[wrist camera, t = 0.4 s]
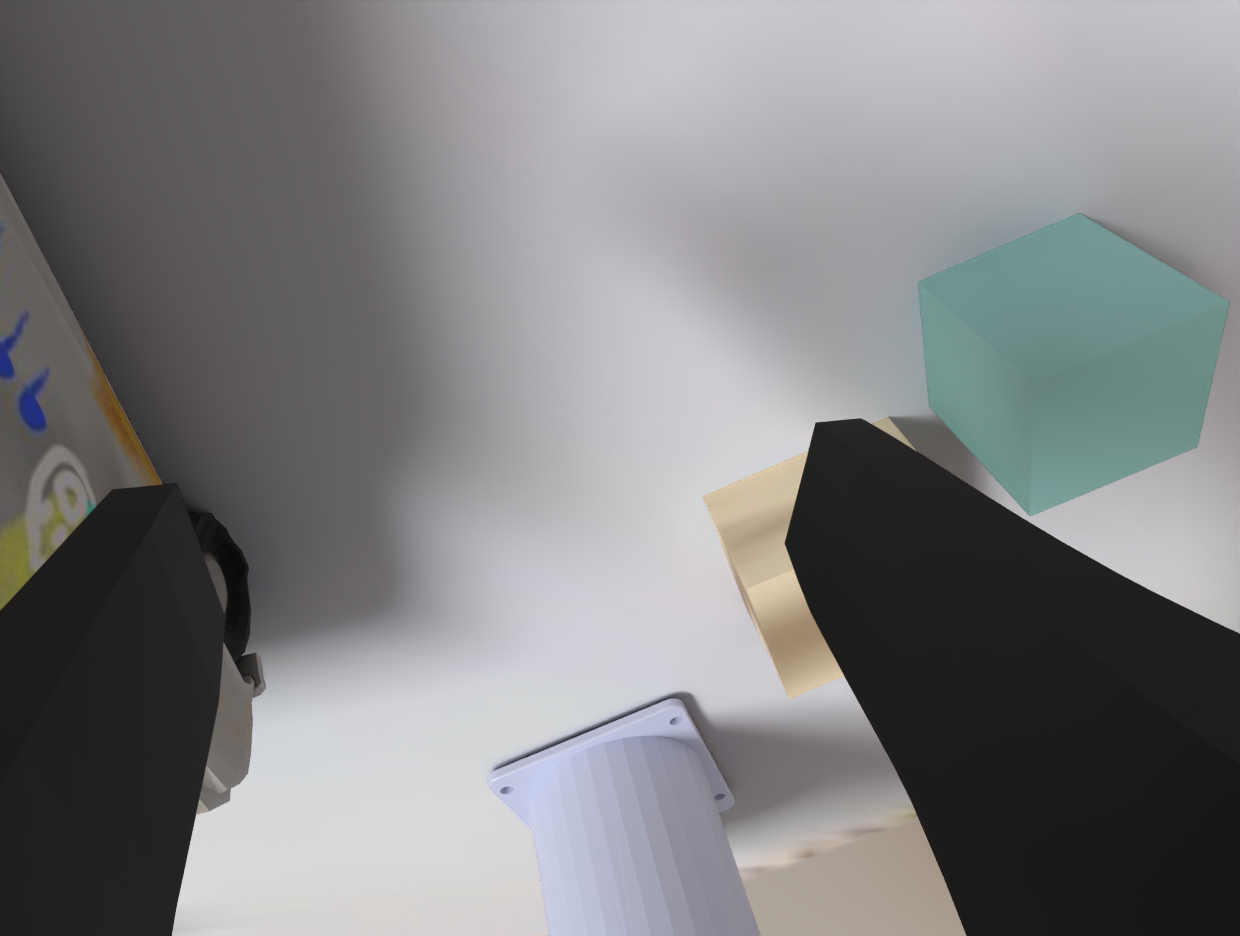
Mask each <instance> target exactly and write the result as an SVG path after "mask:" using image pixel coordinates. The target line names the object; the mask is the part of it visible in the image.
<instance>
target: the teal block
mask: <svg viewBox="0 0 1240 936" xmlns="http://www.w3.org/2000/svg"><path fill="white" fill-rule="evenodd" d="M918 287H919V298H920V310H921V321H922V333H923V344H924V355H925V367H926V378H927V390H928V401H929V407H930V408H931V409H932V410H933V411H934V413H935V414H936V415H937V416H938V417H939V418H940V419H941V420H942V421H943V422H944V423H945V425H946V426H947V427H948V428H949V429H950V430H951V431H952V432H953V433H954V434H955V435H956V437H957V438H958V439H959V440H960V441H961V442H962V443H963V444H964V445H965V446H966V447H967V449H968V450H969V451H970V452H971V453H972V454H973V455H974V456H975V457H976V458H977V459H978V461H979V462H980V463H981V464H982V465H983V466H984V467H985V468H986V469H987V470H988V471H989V473H990V474H991V475H992V476H993V477H994V478H995V479H996V480H997V481H998V482H999V483H1000V485H1001V486H1002V487H1003V488H1004V489H1005V490H1006V491H1007V492H1008V493H1009V494H1010V495H1011V497H1012V498H1013V499H1014V500H1015V501H1016V502H1017V503H1018V504H1019V505H1020V506H1021V507H1022V509H1023V510H1024V511H1025V512H1026V513H1027V514H1028V515H1029V516H1032V515H1035V514H1037V513H1040V512H1042V511H1044V510H1047V509H1049V508H1052V507H1054V506H1056V505H1059V504H1061V503H1064V502H1066V501H1069V500H1071V499H1073V498H1076V497H1078V496H1081V495H1083V494H1085V493H1088V492H1090V491H1093V490H1095V489H1097V488H1100V487H1102V486H1105V485H1107V484H1110V483H1112V482H1114V481H1117V480H1119V479H1122V478H1124V477H1126V476H1129V475H1131V474H1134V473H1136V472H1138V471H1141V470H1143V469H1146V468H1148V467H1151V466H1153V465H1155V464H1158V463H1160V462H1163V461H1165V460H1167V459H1170V458H1172V457H1175V456H1177V455H1179V454H1182V453H1184V452H1187V451H1189V450H1192V449H1194V448H1196V447H1198V442H1199V438H1200V433H1201V429H1202V424H1203V420H1204V415H1205V410H1206V406H1207V401H1208V397H1209V392H1210V388H1211V383H1212V379H1213V374H1214V370H1215V365H1216V361H1217V356H1218V352H1219V347H1220V343H1221V338H1222V334H1223V329H1224V325H1225V320H1226V316H1227V311H1228V307H1229V301H1228V300H1226V299H1224V298H1223V297H1221V296H1219V295H1217V294H1216V293H1214V292H1212V291H1211V290H1209V289H1207V288H1206V287H1204V286H1202V285H1201V284H1199V283H1197V282H1195V281H1194V280H1192V279H1190V278H1189V277H1187V276H1185V275H1184V274H1182V273H1180V272H1179V271H1177V270H1175V269H1173V268H1172V267H1170V266H1168V265H1167V264H1165V263H1163V262H1162V261H1160V260H1158V259H1157V258H1155V257H1153V256H1151V255H1150V254H1148V253H1146V252H1145V251H1143V250H1141V249H1140V248H1138V247H1136V246H1134V245H1133V244H1131V243H1129V242H1128V241H1126V240H1124V239H1123V238H1121V237H1119V236H1118V235H1116V234H1114V233H1112V232H1111V231H1109V230H1107V229H1106V228H1104V227H1102V226H1101V225H1099V224H1097V223H1096V222H1094V221H1092V220H1090V219H1089V218H1087V217H1085V216H1084V215H1082V214H1080V213H1078V214H1076V215H1073V216H1071V217H1069V218H1066V219H1064V220H1062V221H1059V222H1057V223H1054V224H1052V225H1050V226H1047V227H1045V228H1043V229H1040V230H1038V231H1036V232H1033V233H1031V234H1029V235H1026V236H1024V237H1022V238H1019V239H1017V240H1015V241H1012V242H1010V243H1008V244H1005V245H1003V246H1001V247H998V248H996V249H994V250H991V251H989V252H987V253H984V254H982V255H980V256H977V257H975V258H973V259H970V260H968V261H966V262H963V263H961V264H958V265H956V266H954V267H951V268H949V269H947V270H944V271H942V272H940V273H937V274H935V275H933V276H930V277H928V278H926V279H923V280H921V281H919V282H918Z"/></svg>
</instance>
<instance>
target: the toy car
mask: <svg viewBox="0 0 1240 936" xmlns="http://www.w3.org/2000/svg"><path fill="white" fill-rule="evenodd" d="M152 485H163V484H162V482H161V480H160V478H159V476H158V475H157V473H156V471H155V469H154V467H153V465H152V463H151V461H150V459H149V457H148V456H147V454H146V452H145V450H144V448H143V446H142V444H141V442H140V440H139V438H138V436H137V435H136V433H135V431H134V429H133V427H132V425H131V423H130V421H129V419H128V417H127V416H126V414H125V412H124V410H123V408H122V406H121V404H120V402H119V400H118V398H117V397H116V395H115V393H114V391H113V389H112V387H111V385H110V383H109V381H108V379H107V377H106V375H105V373H104V371H103V370H102V368H101V366H100V364H99V362H98V360H97V358H96V356H95V354H94V352H93V350H92V348H91V346H90V344H89V343H88V341H87V339H86V337H85V335H84V333H83V331H82V329H81V327H80V325H79V323H78V321H77V319H76V317H75V315H74V314H73V312H72V310H71V308H70V306H69V304H68V302H67V300H66V298H65V296H64V294H63V292H62V290H61V288H60V287H59V285H58V283H57V281H56V279H55V277H54V275H53V273H52V271H51V269H50V267H49V265H48V263H47V261H46V260H45V258H44V256H43V254H42V252H41V250H40V248H39V246H38V244H37V242H36V240H35V238H34V236H33V234H32V232H31V231H30V229H29V227H28V225H27V223H26V221H25V219H24V217H23V215H22V213H21V211H20V209H19V207H18V205H17V204H16V202H15V200H14V198H13V196H12V194H11V192H10V190H9V188H8V186H7V184H6V182H5V181H4V179H3V177H2V176H1V174H0V610H1V609H2V608H3V607H4V606H5V605H6V604H7V603H8V602H9V601H10V599H11V598H12V597H13V596H14V595H15V594H16V593H17V592H18V591H19V590H20V589H21V588H22V587H23V585H24V584H25V583H26V582H27V581H28V580H29V579H30V578H31V577H32V576H33V575H34V573H35V572H36V571H37V570H38V569H39V568H40V567H41V566H42V565H43V564H44V563H45V562H46V560H47V559H48V558H49V557H50V556H51V555H52V554H53V553H54V552H55V551H56V549H57V548H58V547H59V546H60V545H61V544H62V543H63V542H64V541H65V540H66V538H67V537H68V536H69V535H70V534H71V533H72V532H73V531H74V530H75V529H76V528H77V527H78V525H79V524H80V523H81V522H82V521H83V520H84V519H85V518H86V517H87V516H88V515H89V514H90V512H91V511H92V510H93V509H94V508H95V507H96V506H97V505H98V504H99V503H100V502H101V501H102V500H103V499H104V498H105V496H106V495H107V494H108V493H109V492H110V491H111V490H112V489H121V488H131V487H142V486H152ZM188 515H189V517H190V520H191V523H192V526H193V528H194V531H195V534H196V537H197V539H198V542H199V545H200V548H201V550H202V553H203V556H204V559H205V561H206V564H207V567H208V570H209V572H210V575H211V578H212V581H213V583H214V586H215V589H216V592H217V594H218V597H219V600H220V603H221V605H222V608H223V611H224V614H225V626H224V643H223V659H222V672H221V684H220V696H219V705H218V710H217V715H216V720H215V725H214V730H213V735H212V740H211V745H210V750H209V755H208V760H207V764H206V769H205V774H204V779H203V784H202V788H201V793H200V798H199V803H198V807H197V812H196V814H200V813H204V812H208V811H211V810H213V809H215V808H216V807H218V806H220V805H222V804H224V803H226V802H228V801H230V791H231V788H232V787H234V786H236V785H238V784H240V782H241V781H242V780H243V779H244V778H245V776H246V775H247V774H248V769H249V762H250V756H251V743H252V725H253V717H252V704H251V702H252V698H254V697H256V696H259V695H261V694H262V692H263V691H264V690H265V689H266V685H265V681H264V677H263V670H262V664H261V658H260V657H259V656H258V655H257V653H252V654H248V655H244V656H242V654H243V653H244V652H245V649H246V646H247V642H248V638H249V635H250V617H251V607H250V599H249V592H248V585H247V574H248V570H249V567H248V564H247V562H246V559H245V557H244V555H243V553H242V550H241V549H240V548H239V547H238V546H237V545H236V544H235V543H234V541H233V540H232V538H231V537H230V535H229V534H228V532H227V530H226V528H225V527H224V526H223V525H222V524H221V523H220V522H219V521H218V520H217V519H215V517H214V515H213V514H211V513H198V512H196V513H191V514H188Z"/></svg>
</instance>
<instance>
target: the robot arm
mask: <svg viewBox="0 0 1240 936" xmlns="http://www.w3.org/2000/svg"><path fill="white" fill-rule="evenodd" d="M784 544H785V546H786V549H787V552H788V555H789V557H790V560H791V563H792V566H793V569H794V571H795V574H796V577H797V580H798V582H799V585H800V587H801V590H802V593H803V595H804V598H805V600H806V603H807V605H808V608H809V610H810V613H811V615H812V616H813V618H814V620H815V622H816V624H817V626H818V628H819V630H820V632H821V634H822V636H823V637H824V639H825V641H826V643H827V645H828V647H829V649H830V650H831V652H832V654H833V656H834V658H835V660H836V662H837V663H838V665H839V667H840V669H841V671H842V673H843V674H844V676H845V678H846V680H847V682H848V684H849V685H850V687H851V689H852V691H853V693H854V694H855V696H856V698H857V700H858V702H859V704H860V705H861V707H862V709H863V711H864V713H865V714H866V716H867V718H868V720H869V722H870V724H871V725H872V727H873V729H874V731H875V733H876V735H877V736H878V738H879V740H880V742H881V744H882V745H883V747H884V749H885V751H886V753H887V755H888V756H889V758H890V760H891V762H892V764H893V765H894V767H895V769H896V771H897V773H898V776H899V778H900V780H901V782H902V784H903V786H904V788H905V790H906V792H907V794H908V796H909V798H910V800H911V802H912V804H913V806H914V809H915V811H916V813H917V816H918V818H919V820H920V823H921V825H922V828H923V830H924V832H925V835H926V837H927V839H928V842H929V844H930V846H931V849H932V851H933V853H934V856H935V858H936V861H937V863H938V865H939V868H940V870H941V872H942V875H943V877H944V879H945V882H946V884H947V887H948V890H949V892H950V895H951V897H952V900H953V902H954V905H955V907H956V910H957V912H958V915H959V918H960V920H961V922H962V925H963V928H964V930H965V933H966V935H967V936H1240V634H1239V633H1237V632H1235V631H1233V630H1231V629H1228V628H1226V627H1224V626H1222V625H1220V624H1218V623H1216V622H1214V621H1212V620H1210V619H1207V618H1205V617H1203V616H1201V615H1199V614H1197V613H1195V612H1193V611H1191V610H1189V609H1187V608H1185V607H1183V606H1181V605H1179V604H1177V603H1175V602H1173V601H1171V600H1169V599H1167V598H1165V597H1163V596H1161V595H1158V594H1156V593H1154V592H1152V591H1150V590H1148V589H1147V588H1145V587H1143V586H1141V585H1139V584H1137V583H1135V582H1133V581H1131V580H1129V579H1128V578H1126V577H1124V576H1122V575H1120V574H1118V573H1116V572H1114V571H1113V570H1111V569H1109V568H1107V567H1106V566H1104V565H1102V564H1100V563H1099V562H1097V561H1095V560H1093V559H1091V558H1090V557H1088V556H1086V555H1084V554H1083V553H1081V552H1079V551H1077V550H1076V549H1074V548H1072V547H1070V546H1069V545H1067V544H1065V543H1063V542H1061V541H1060V540H1058V539H1056V538H1055V537H1053V536H1051V535H1050V534H1048V533H1046V532H1045V531H1043V530H1041V529H1040V528H1038V527H1036V526H1035V525H1033V524H1031V523H1030V522H1028V521H1026V520H1025V519H1023V518H1021V517H1020V516H1018V515H1017V514H1015V513H1013V512H1012V511H1010V510H1008V509H1007V508H1005V507H1004V506H1002V505H1000V504H999V503H997V502H996V501H994V500H992V499H991V498H989V497H988V496H986V495H984V494H983V493H981V492H980V491H978V490H977V489H975V488H973V487H972V486H970V485H969V484H967V483H966V482H964V481H962V480H961V479H959V478H958V477H956V476H955V475H953V474H951V473H950V472H948V471H947V470H945V469H944V468H942V467H941V466H939V465H937V464H936V463H934V462H933V461H931V460H930V459H928V458H927V457H925V456H923V455H922V454H920V453H919V452H917V451H915V450H914V449H912V448H911V447H909V446H907V445H906V444H904V443H903V442H901V441H900V440H898V439H896V438H895V437H893V436H891V435H890V434H888V433H886V432H885V431H883V430H881V429H879V428H878V427H876V426H874V425H872V424H870V423H869V422H867V421H865V420H863V419H861V418H859V419H849V420H838V421H828V422H817V423H816V424H815V427H814V431H813V435H812V439H811V443H810V447H809V451H808V454H807V458H806V462H805V466H804V470H803V474H802V478H801V481H800V485H799V489H798V493H797V497H796V501H795V505H794V508H793V512H792V516H791V520H790V524H789V528H788V532H787V535H786V539H785V543H784ZM224 626H225V614H224V611H223V608H222V605H221V603H220V600H219V597H218V594H217V592H216V589H215V586H214V583H213V581H212V578H211V575H210V572H209V570H208V567H207V564H206V561H205V559H204V556H203V553H202V550H201V548H200V545H199V542H198V539H197V537H196V534H195V531H194V528H193V526H192V523H191V520H190V517H189V515H188V512H187V509H186V506H185V504H184V501H183V498H182V495H181V492H180V490H179V487H178V484H177V483H174V484H163V485H152V486H142V487H131V488H121V489H112V490H111V491H110V492H109V493H108V494H107V495H106V496H105V498H104V499H103V500H102V501H101V502H100V503H99V504H98V505H97V506H96V507H95V508H94V509H93V510H92V511H91V512H90V514H89V515H88V516H87V517H86V518H85V519H84V520H83V521H82V522H81V523H80V524H79V525H78V527H77V528H76V529H75V530H74V531H73V532H72V533H71V534H70V535H69V536H68V537H67V538H66V540H65V541H64V542H63V543H62V544H61V545H60V546H59V547H58V548H57V549H56V551H55V552H54V553H53V554H52V555H51V556H50V557H49V558H48V559H47V560H46V562H45V563H44V564H43V565H42V566H41V567H40V568H39V569H38V570H37V571H36V572H35V573H34V575H33V576H32V577H31V578H30V579H29V580H28V581H27V582H26V583H25V584H24V585H23V587H22V588H21V589H20V590H19V591H18V592H17V593H16V594H15V595H14V596H13V597H12V598H11V599H10V601H9V602H8V603H7V604H6V605H5V606H4V607H3V608H2V609H1V610H0V936H172V931H173V924H174V918H175V912H176V907H177V902H178V898H179V893H180V888H181V883H182V879H183V874H184V869H185V864H186V860H187V855H188V850H189V845H190V841H191V836H192V831H193V826H194V822H195V817H196V812H197V807H198V803H199V798H200V793H201V788H202V784H203V779H204V774H205V769H206V764H207V760H208V755H209V750H210V745H211V740H212V735H213V730H214V725H215V720H216V715H217V710H218V705H219V696H220V684H221V672H222V659H223V643H224ZM487 782H488V787H489V789H490V790H491V791H492V792H493V793H494V794H495V795H496V796H497V797H498V798H499V799H500V800H501V801H502V802H503V803H504V804H505V805H506V806H507V807H508V808H509V809H510V810H511V811H512V812H513V813H514V814H515V815H516V816H517V817H518V818H519V819H520V820H521V821H522V822H523V823H524V824H526V825H527V826H528V827H529V828H530V829H531V830H532V835H533V842H534V848H535V854H536V861H537V867H538V873H539V879H540V886H541V892H542V898H543V905H544V911H545V917H546V923H547V930H548V936H761V935H760V932H759V929H758V926H757V923H756V921H755V917H754V915H753V912H752V909H751V906H750V903H749V900H748V897H747V894H746V891H745V889H744V885H743V882H742V880H741V877H740V874H739V871H738V868H737V865H736V862H735V859H734V856H733V853H732V851H731V848H730V845H729V842H728V839H727V836H726V833H725V830H724V827H723V824H722V821H721V819H720V816H719V813H722V812H724V811H727V810H729V809H731V808H732V807H733V806H734V804H735V800H734V797H733V795H732V793H731V791H730V789H729V787H728V785H727V783H726V782H725V780H724V778H723V776H722V774H721V772H720V771H719V769H718V767H717V765H716V763H715V761H714V759H713V758H712V756H711V754H710V752H709V750H708V748H707V747H706V745H705V743H704V741H703V739H702V737H701V735H700V734H699V732H698V730H697V728H696V726H695V724H694V723H693V721H692V719H691V717H690V715H689V713H688V711H687V710H686V708H685V706H684V704H683V702H682V701H681V700H679V699H676V698H672V699H667V700H665V701H662V702H660V703H657V704H655V705H653V706H650V707H648V708H645V709H643V710H640V711H638V712H636V713H633V714H631V715H628V716H626V717H623V718H621V719H618V720H616V721H614V722H611V723H609V724H606V725H604V726H601V727H599V728H597V729H594V730H592V731H589V732H587V733H584V734H582V735H580V736H577V737H575V738H572V739H570V740H567V741H565V742H563V743H560V744H558V745H555V746H553V747H550V748H548V749H545V750H543V751H541V752H538V753H536V754H533V755H531V756H528V757H526V758H524V759H521V760H519V761H516V762H514V763H511V764H509V765H507V766H504V767H502V768H499V769H497V770H495V771H493V772H491V773H490V774H489V775H488V778H487Z"/></svg>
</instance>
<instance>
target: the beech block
mask: <svg viewBox="0 0 1240 936" xmlns="http://www.w3.org/2000/svg"><path fill="white" fill-rule="evenodd" d="M872 425H874V426H876V427H878V428H879V429H881V430H883V431H885V432H886V433H888V434H890V435H891V436H893V437H895V438H896V439H898V440H900V441H901V442H903V443H904V444H906V445H907V446H909V447H911V448H912V449H914V450H915V448H914V447H913V446H912V445H911V444H910V442H909V441H908V440H907V439H906V438H905V436H904V435H903V434H902V433H901V432H900V430H899V429H898V428H897V427H896V426H895V424H894V423H893V422H892V421H891V420H890V418H889V417H886V418H884V419H882V420H879V421H877V422H875V423H872ZM915 451H916V450H915ZM807 454H808V451H807V452H805V453H802V454H800V455H798V456H795V457H793V458H791V459H788V460H786V461H784V462H781V463H779V464H777V465H774V466H772V467H770V468H767V469H765V470H763V471H760V472H758V473H756V474H753V475H751V476H749V477H746V478H744V479H742V480H739V481H737V482H735V483H732V484H730V485H728V486H725V487H723V488H721V489H718V490H716V491H714V492H711V493H709V494H707V495H704V496H702V497H703V499H704V502H705V504H706V507H707V509H708V512H709V514H710V517H711V519H712V522H713V524H714V527H715V530H716V532H717V535H718V537H719V540H720V542H721V545H722V547H723V550H724V552H725V555H726V557H727V560H728V563H729V565H730V568H731V570H732V573H733V575H734V578H735V580H736V583H737V585H738V588H739V590H740V593H741V596H742V598H743V601H744V603H745V606H746V608H747V610H748V612H749V615H750V617H751V619H752V621H753V623H754V625H755V627H756V630H757V632H758V634H759V636H760V638H761V640H762V642H763V645H764V647H765V649H766V651H767V653H768V655H769V657H770V660H771V662H772V664H773V666H774V668H775V670H776V672H777V675H778V677H779V679H780V681H781V683H782V685H783V687H784V689H785V692H786V694H787V696H788V698H789V699H790V698H793V697H795V696H797V695H800V694H802V693H805V692H807V691H809V690H812V689H814V688H817V687H819V686H821V685H824V684H826V683H829V682H831V681H833V680H836V679H838V678H841V677H843V676H844V674H843V673H842V671H841V669H840V667H839V665H838V663H837V662H836V660H835V658H834V656H833V654H832V652H831V650H830V649H829V647H828V645H827V643H826V641H825V639H824V637H823V636H822V634H821V632H820V630H819V628H818V626H817V624H816V622H815V620H814V618H813V616H812V615H811V613H810V610H809V608H808V605H807V603H806V600H805V598H804V595H803V593H802V590H801V587H800V585H799V582H798V580H797V577H796V574H795V571H794V569H793V566H792V563H791V560H790V557H789V555H788V552H787V549H786V546H785V544H784V543H785V539H786V535H787V532H788V528H789V524H790V520H791V516H792V512H793V508H794V505H795V501H796V497H797V493H798V489H799V485H800V481H801V478H802V474H803V470H804V466H805V462H806V458H807Z"/></svg>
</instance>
